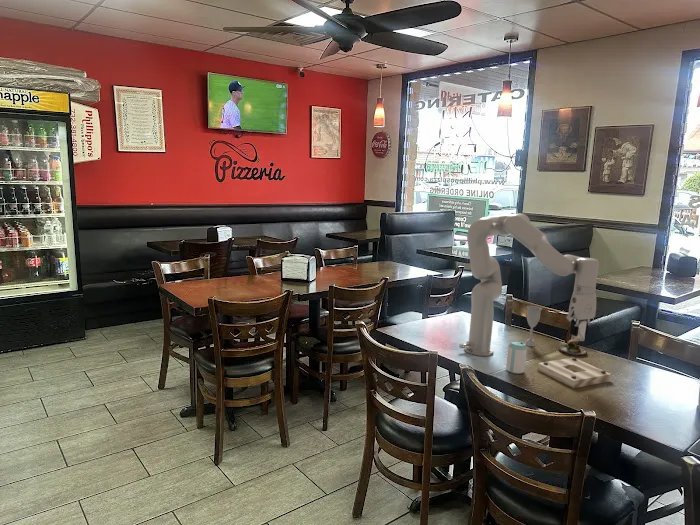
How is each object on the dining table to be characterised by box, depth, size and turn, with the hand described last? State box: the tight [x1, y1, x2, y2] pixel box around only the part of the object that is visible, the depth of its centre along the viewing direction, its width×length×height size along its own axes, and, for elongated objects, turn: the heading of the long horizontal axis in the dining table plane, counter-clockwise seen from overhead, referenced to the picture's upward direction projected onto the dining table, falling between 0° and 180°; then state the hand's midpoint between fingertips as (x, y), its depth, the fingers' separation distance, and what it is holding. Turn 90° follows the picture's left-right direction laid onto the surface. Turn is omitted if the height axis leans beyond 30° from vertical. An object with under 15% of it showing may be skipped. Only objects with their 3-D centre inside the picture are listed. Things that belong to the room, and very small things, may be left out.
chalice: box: [524, 305, 543, 347], centre depth 228 cm, size 7×7×18 cm
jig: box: [536, 357, 612, 389], centre depth 194 cm, size 20×18×4 cm
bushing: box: [571, 319, 587, 342], centre depth 191 cm, size 5×5×8 cm
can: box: [505, 340, 528, 375], centre depth 195 cm, size 7×7×12 cm
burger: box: [558, 338, 588, 356], centre depth 221 cm, size 12×12×8 cm
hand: (578, 334), depth 192 cm, fingers closed on bushing, 4 cm apart
